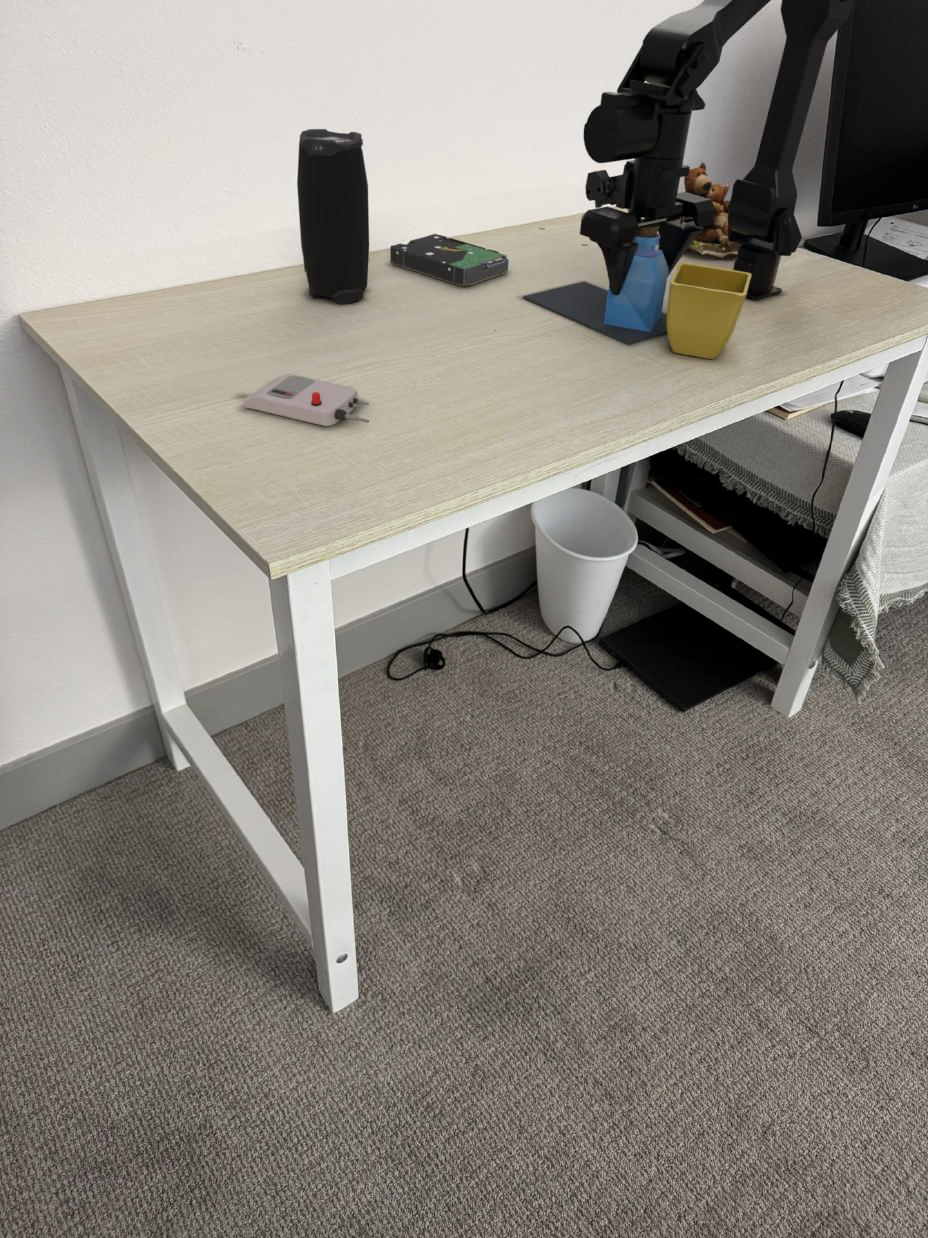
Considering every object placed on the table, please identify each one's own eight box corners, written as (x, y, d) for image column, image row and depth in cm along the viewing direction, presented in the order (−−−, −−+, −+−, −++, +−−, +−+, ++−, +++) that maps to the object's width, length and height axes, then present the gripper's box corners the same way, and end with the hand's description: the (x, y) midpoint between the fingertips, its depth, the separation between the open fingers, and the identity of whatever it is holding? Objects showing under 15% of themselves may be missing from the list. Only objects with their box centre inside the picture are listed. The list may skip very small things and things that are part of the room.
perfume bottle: (603, 323, 115) (616, 227, 107) (615, 308, 119) (628, 214, 111) (650, 331, 113) (666, 233, 105) (660, 316, 117) (677, 221, 110)
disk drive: (388, 265, 131) (465, 288, 124) (388, 246, 129) (465, 268, 122) (434, 251, 137) (509, 272, 130) (434, 232, 136) (510, 252, 128)
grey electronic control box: (264, 381, 97) (261, 355, 95) (391, 410, 93) (391, 383, 91) (230, 404, 92) (226, 377, 91) (362, 436, 88) (361, 408, 86)
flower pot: (735, 343, 112) (752, 271, 106) (728, 369, 105) (746, 293, 100) (666, 332, 114) (680, 261, 108) (655, 357, 107) (669, 282, 102)
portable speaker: (379, 288, 123) (376, 130, 110) (353, 310, 116) (348, 144, 103) (322, 279, 124) (313, 123, 112) (294, 300, 117) (281, 136, 105)
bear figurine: (692, 264, 137) (709, 179, 130) (643, 237, 148) (656, 157, 140) (764, 258, 141) (784, 175, 134) (711, 232, 152) (727, 154, 144)
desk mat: (584, 283, 128) (584, 281, 128) (690, 325, 116) (690, 323, 116) (522, 298, 122) (522, 295, 122) (628, 344, 110) (628, 342, 110)
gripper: (660, 134, 113) (640, 259, 123) (555, 148, 104) (542, 283, 113) (730, 151, 106) (702, 282, 116) (624, 168, 97) (604, 309, 107)
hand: (637, 288), depth 113 cm, fingers closed on perfume bottle, 8 cm apart
